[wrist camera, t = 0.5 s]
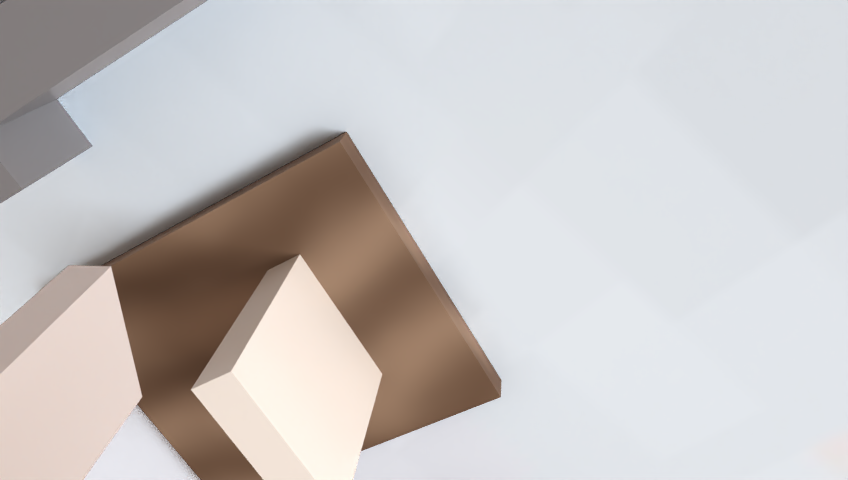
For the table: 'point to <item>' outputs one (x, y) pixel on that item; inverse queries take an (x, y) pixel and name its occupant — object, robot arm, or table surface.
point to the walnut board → (338, 275)
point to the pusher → (61, 72)
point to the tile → (292, 381)
